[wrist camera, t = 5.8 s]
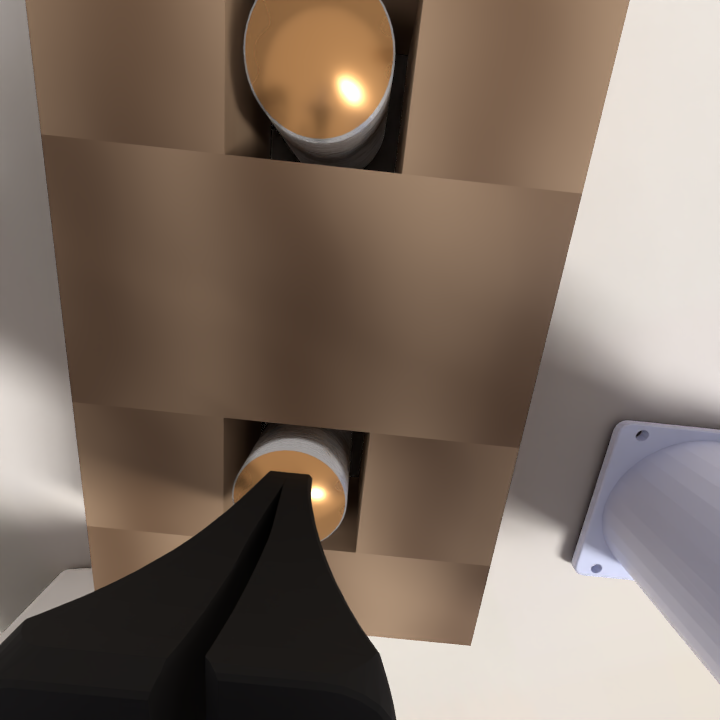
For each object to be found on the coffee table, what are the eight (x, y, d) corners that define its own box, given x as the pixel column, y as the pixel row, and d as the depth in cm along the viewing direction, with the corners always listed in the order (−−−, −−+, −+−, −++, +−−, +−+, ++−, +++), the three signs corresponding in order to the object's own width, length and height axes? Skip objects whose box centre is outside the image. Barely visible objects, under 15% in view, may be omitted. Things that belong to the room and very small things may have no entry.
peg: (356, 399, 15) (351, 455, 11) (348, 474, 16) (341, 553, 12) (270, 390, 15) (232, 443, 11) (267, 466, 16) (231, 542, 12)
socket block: (572, -67, 12) (693, -259, 7) (445, 552, 18) (470, 645, 14) (128, -119, 12) (-16, -345, 7) (161, 524, 18) (96, 609, 14)
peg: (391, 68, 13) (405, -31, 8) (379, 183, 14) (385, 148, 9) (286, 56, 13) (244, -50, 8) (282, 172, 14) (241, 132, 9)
